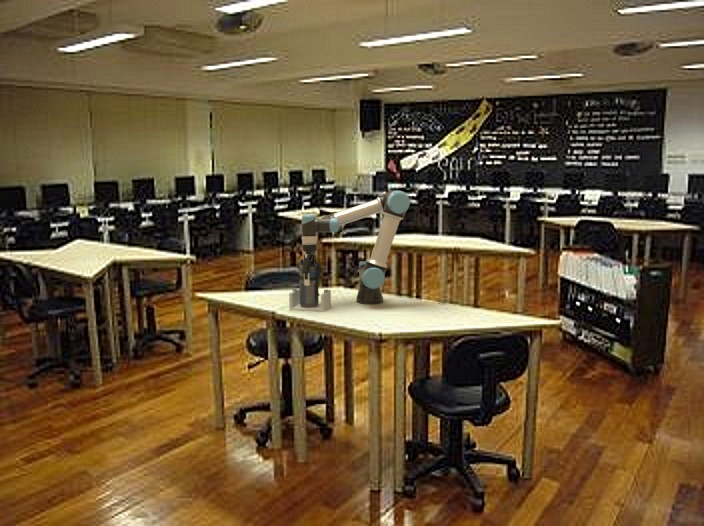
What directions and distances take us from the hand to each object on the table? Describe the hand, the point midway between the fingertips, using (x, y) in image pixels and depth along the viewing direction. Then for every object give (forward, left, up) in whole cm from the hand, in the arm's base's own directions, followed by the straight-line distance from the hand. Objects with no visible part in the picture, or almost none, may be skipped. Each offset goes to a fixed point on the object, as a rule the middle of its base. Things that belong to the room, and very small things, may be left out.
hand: (310, 283), depth 334 cm
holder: (0, 0, -14) cm, 14 cm away
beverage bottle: (0, 0, -13) cm, 13 cm away
